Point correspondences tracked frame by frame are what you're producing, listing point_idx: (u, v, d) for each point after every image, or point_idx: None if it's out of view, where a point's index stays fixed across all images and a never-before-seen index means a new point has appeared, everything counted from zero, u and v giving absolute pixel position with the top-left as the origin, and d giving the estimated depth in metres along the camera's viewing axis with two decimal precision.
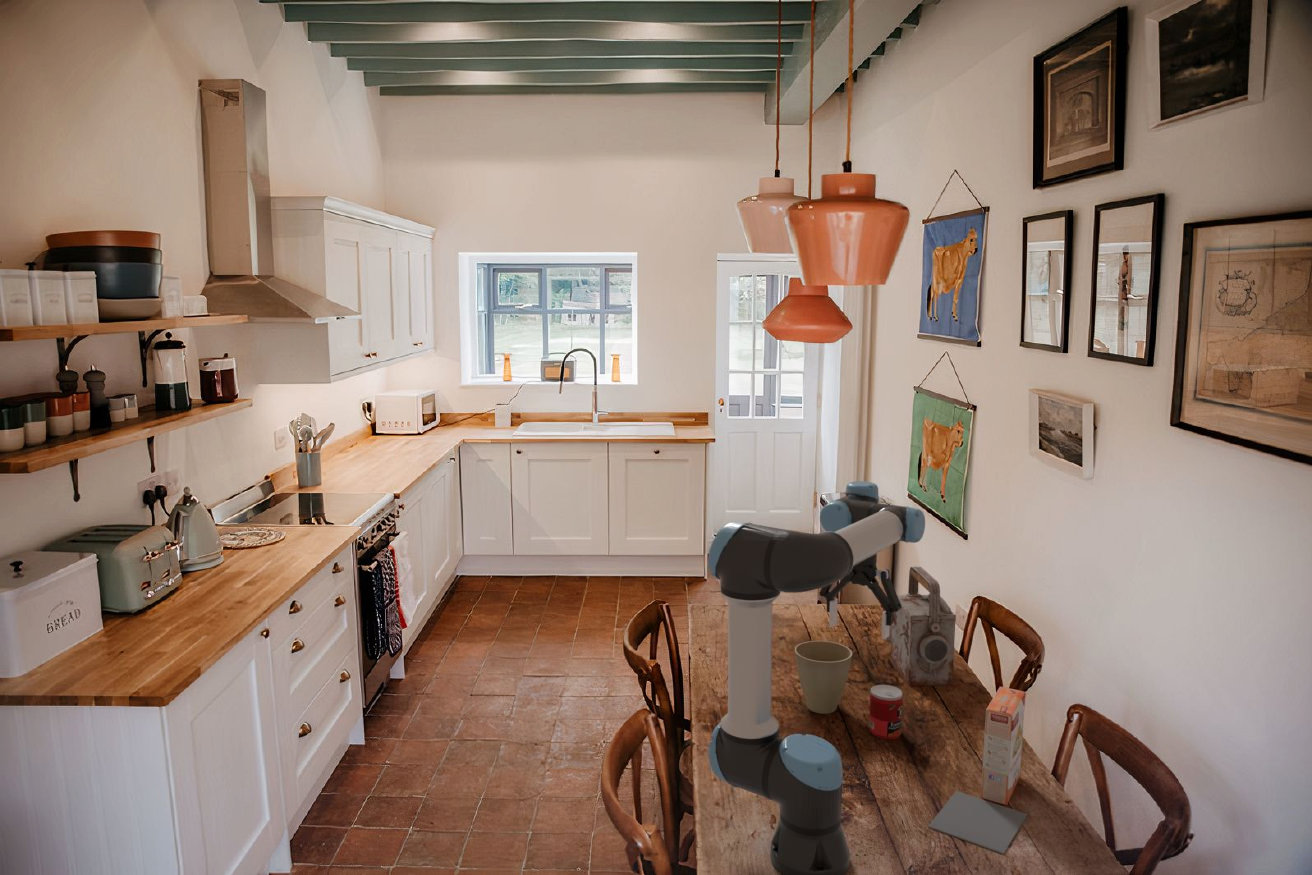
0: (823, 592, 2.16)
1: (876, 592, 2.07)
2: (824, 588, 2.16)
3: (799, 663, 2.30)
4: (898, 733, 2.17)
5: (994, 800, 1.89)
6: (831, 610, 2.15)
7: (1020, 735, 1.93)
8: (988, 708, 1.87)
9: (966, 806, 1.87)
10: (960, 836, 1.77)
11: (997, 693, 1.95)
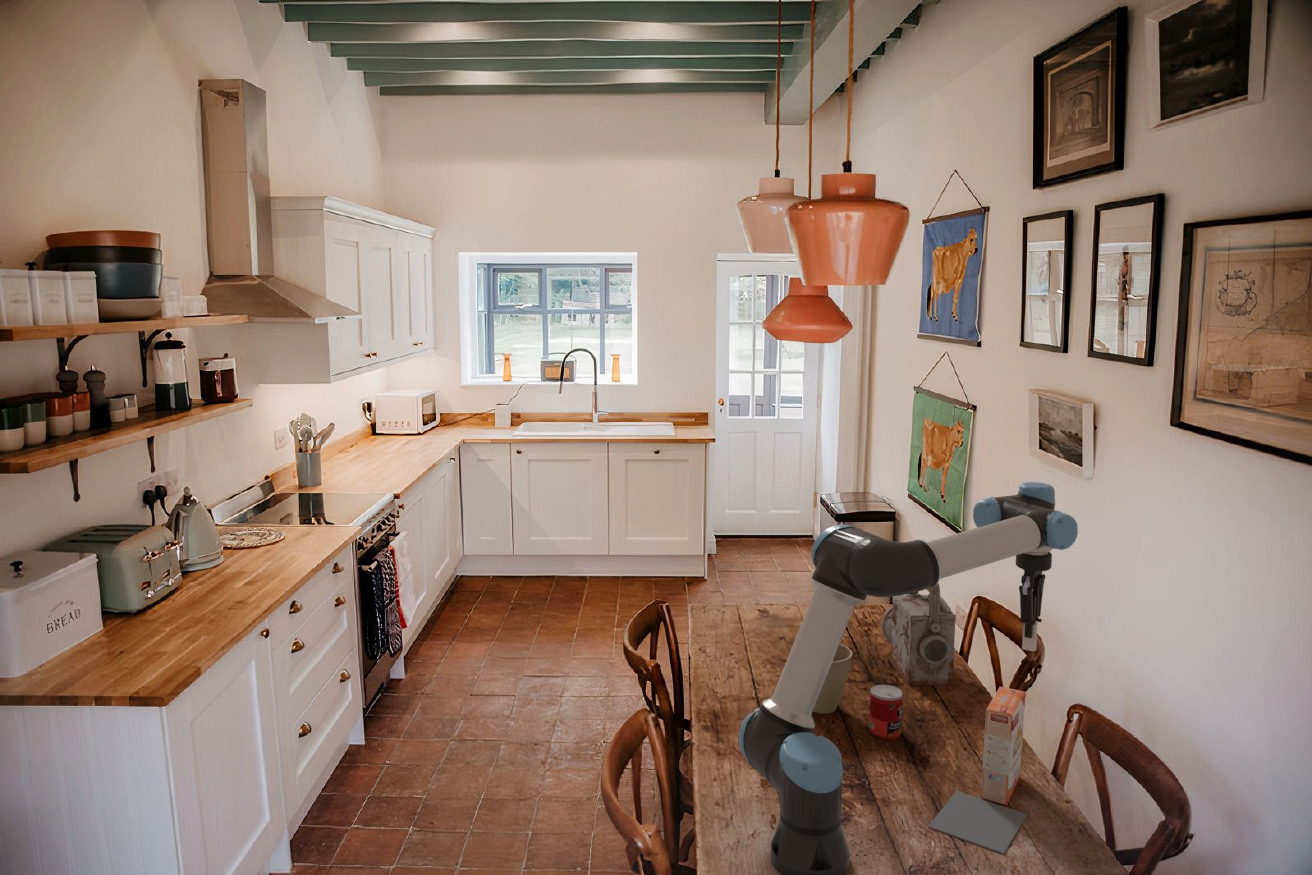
0: None
1: None
2: None
3: None
4: (898, 733, 2.17)
5: (994, 800, 1.89)
6: None
7: (1020, 735, 1.93)
8: (988, 708, 1.87)
9: (966, 806, 1.87)
10: (960, 836, 1.77)
11: (997, 693, 1.95)
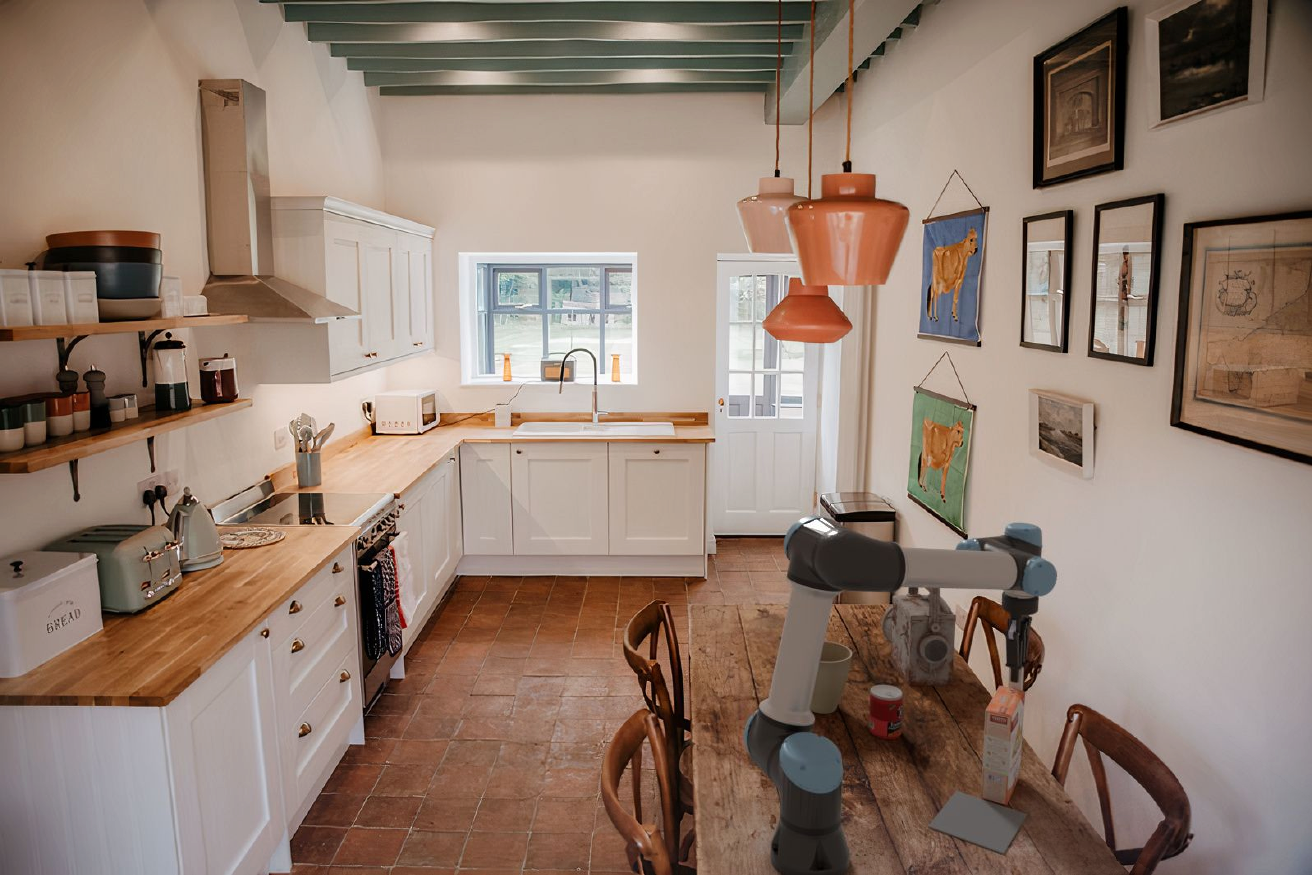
0: None
1: None
2: None
3: None
4: (898, 733, 2.17)
5: (994, 800, 1.89)
6: None
7: (1020, 734, 1.92)
8: (987, 709, 1.87)
9: (966, 806, 1.87)
10: (960, 836, 1.77)
11: (996, 693, 1.94)
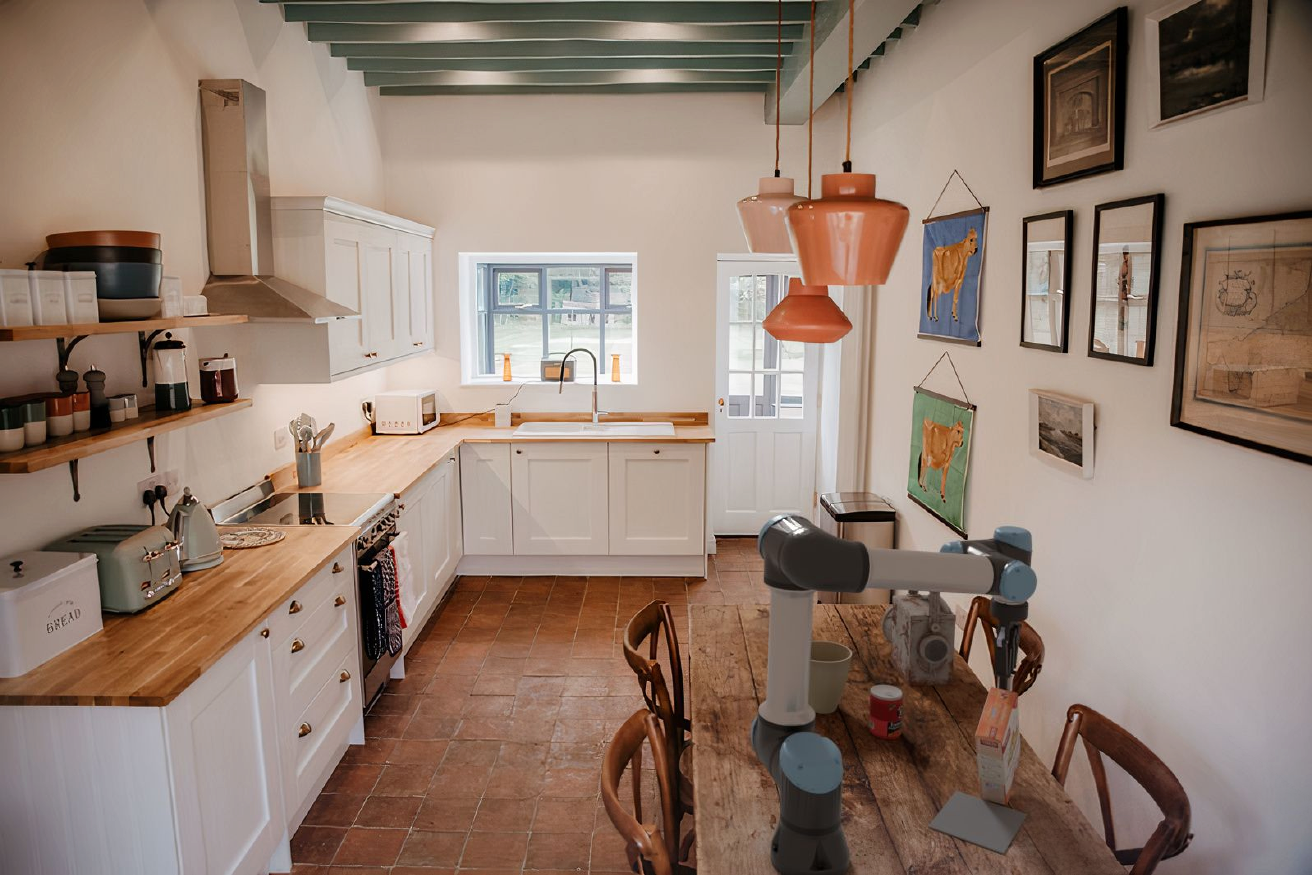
0: None
1: None
2: None
3: None
4: (898, 733, 2.17)
5: (994, 801, 1.88)
6: None
7: (1015, 735, 1.87)
8: (977, 733, 1.80)
9: (966, 806, 1.87)
10: (960, 836, 1.77)
11: (987, 701, 1.86)
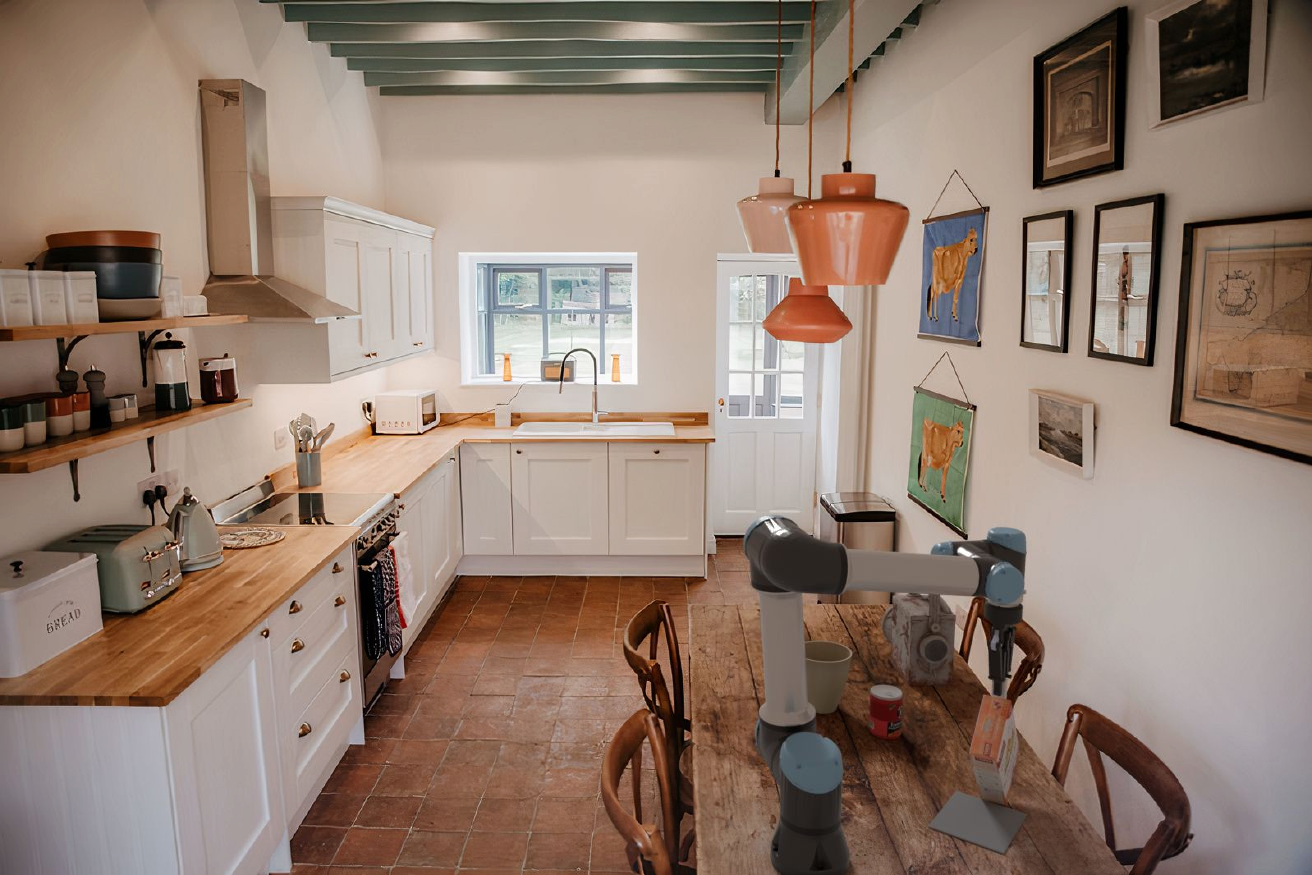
0: None
1: None
2: None
3: None
4: (898, 733, 2.17)
5: (994, 801, 1.88)
6: None
7: (1011, 740, 1.84)
8: (971, 750, 1.78)
9: (966, 806, 1.87)
10: (960, 836, 1.77)
11: (981, 712, 1.82)
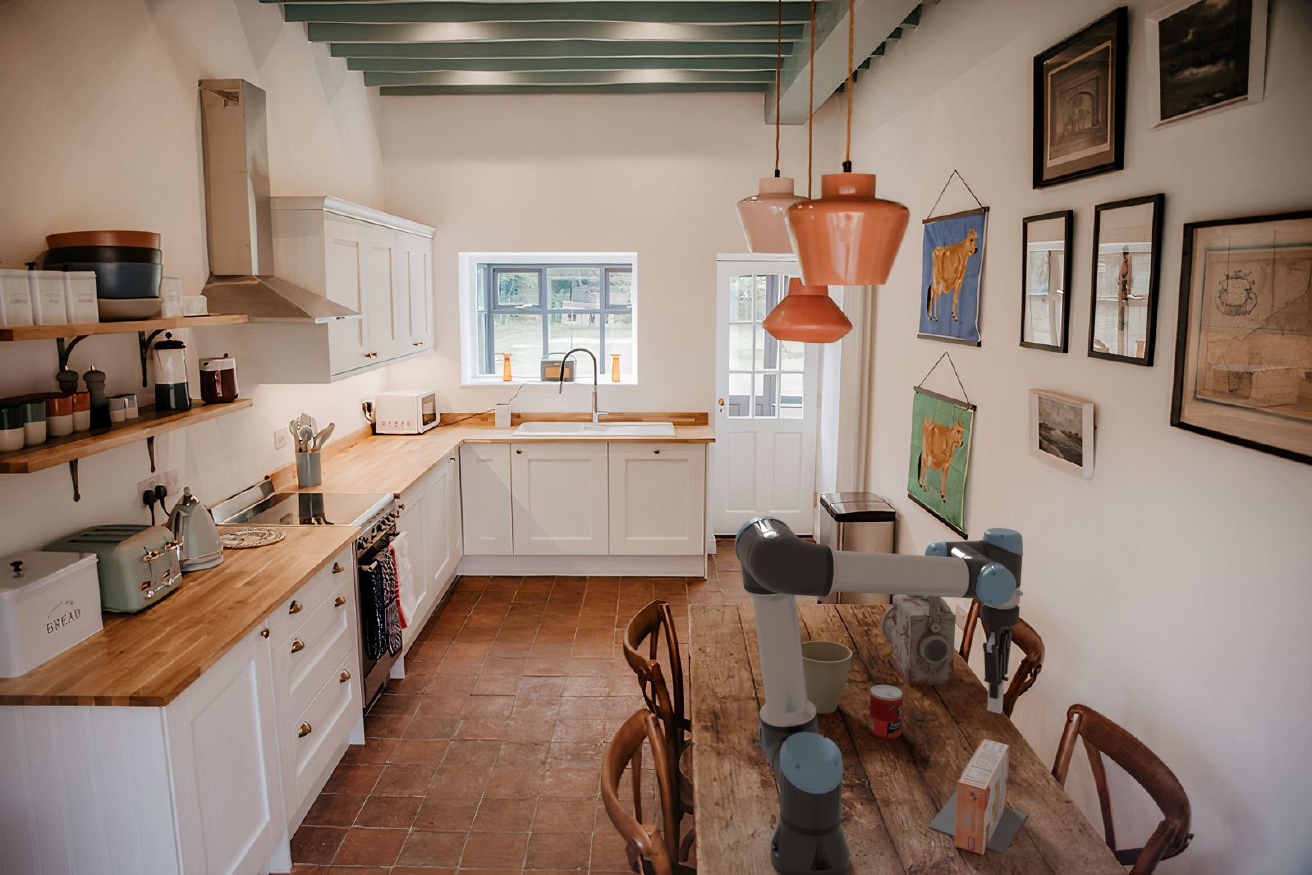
0: None
1: None
2: None
3: None
4: (898, 733, 2.17)
5: None
6: None
7: (996, 792, 1.76)
8: (956, 843, 1.73)
9: None
10: None
11: (958, 802, 1.72)
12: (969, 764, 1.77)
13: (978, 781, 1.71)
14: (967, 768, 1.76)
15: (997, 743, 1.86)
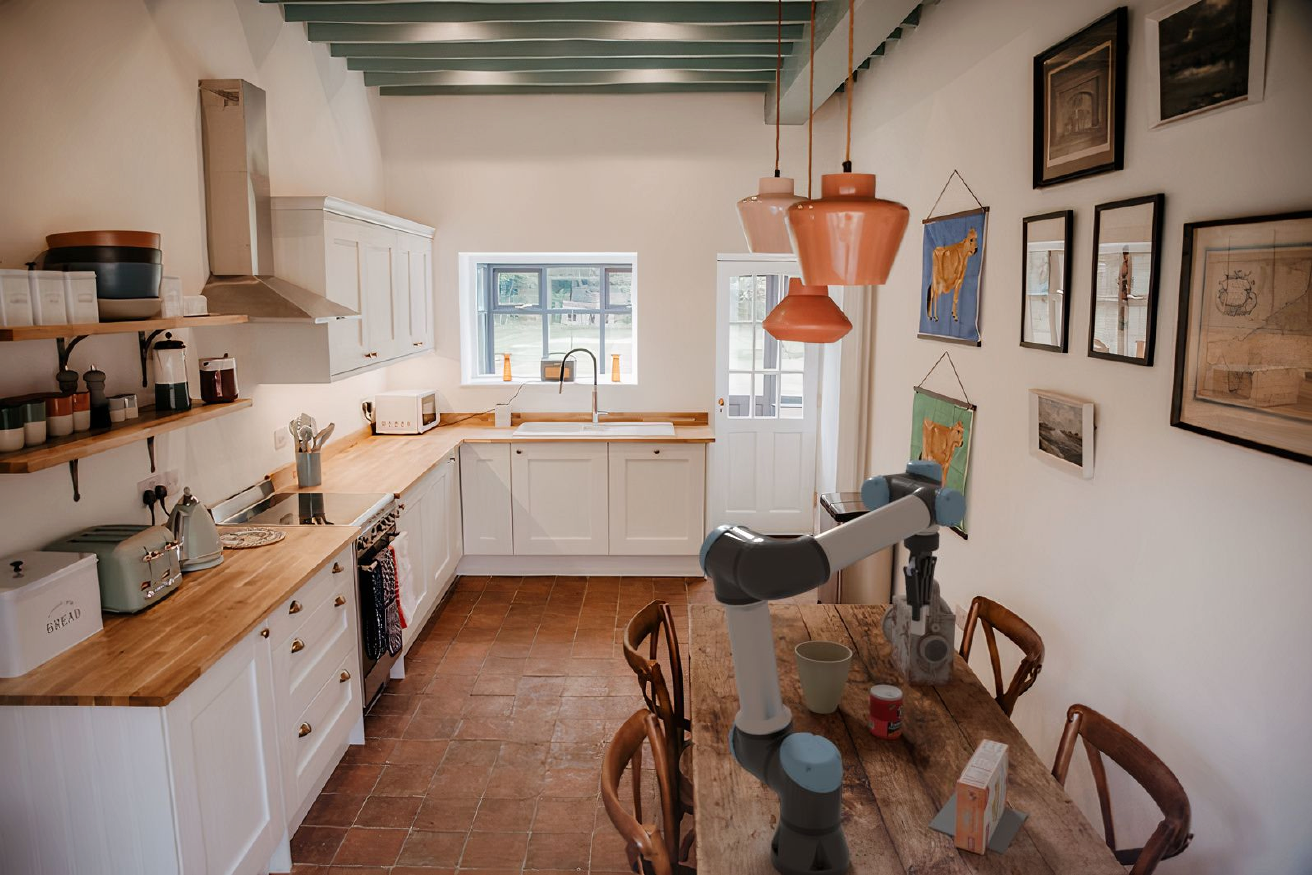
0: None
1: None
2: None
3: (799, 663, 2.30)
4: (898, 733, 2.17)
5: None
6: None
7: (996, 792, 1.76)
8: (956, 843, 1.73)
9: None
10: None
11: (957, 802, 1.72)
12: (968, 764, 1.78)
13: (978, 781, 1.71)
14: (966, 768, 1.76)
15: (996, 743, 1.86)
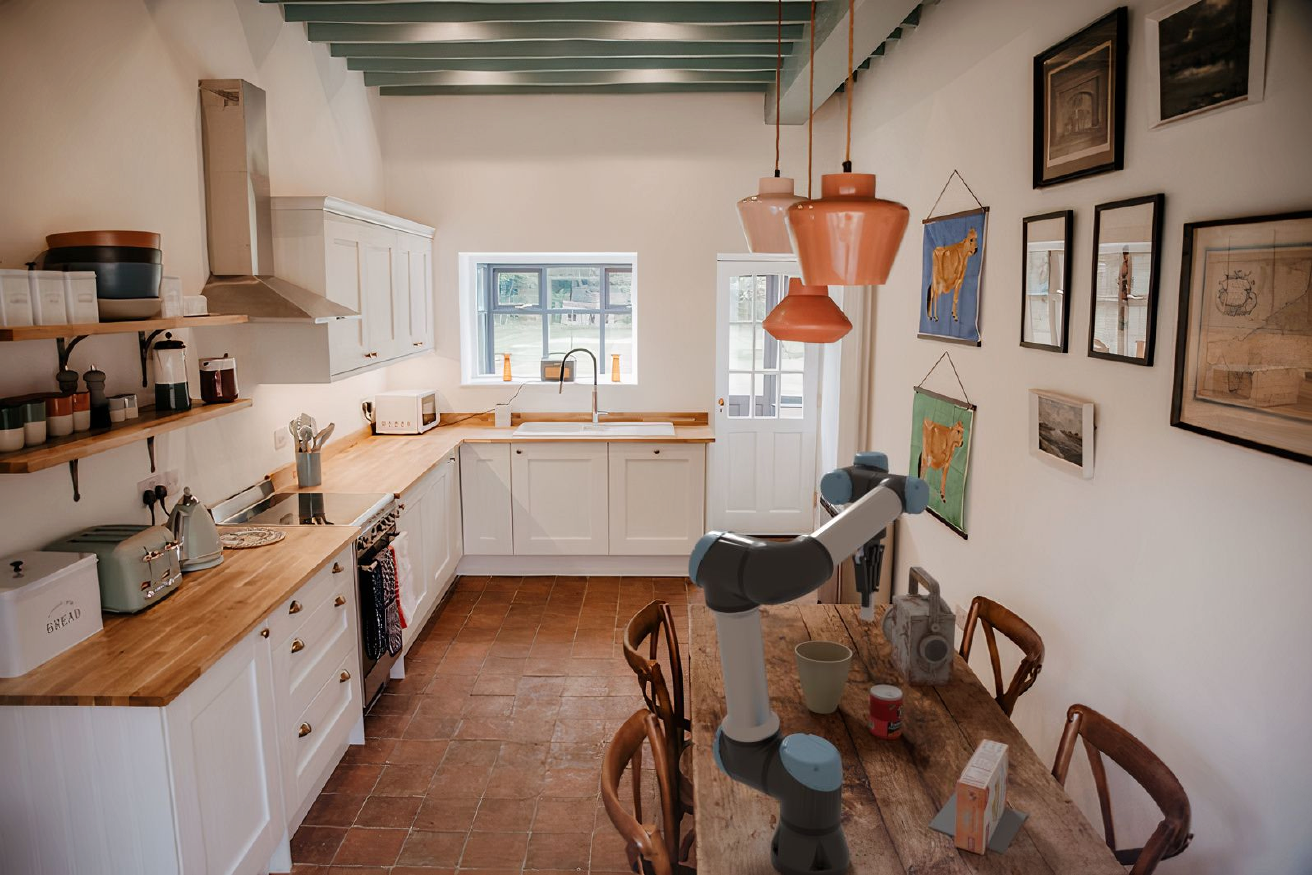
0: None
1: None
2: None
3: (799, 663, 2.30)
4: (898, 733, 2.17)
5: None
6: None
7: (996, 792, 1.76)
8: (956, 843, 1.73)
9: None
10: None
11: (957, 802, 1.72)
12: (968, 764, 1.78)
13: (978, 781, 1.71)
14: (966, 768, 1.76)
15: (996, 743, 1.86)
